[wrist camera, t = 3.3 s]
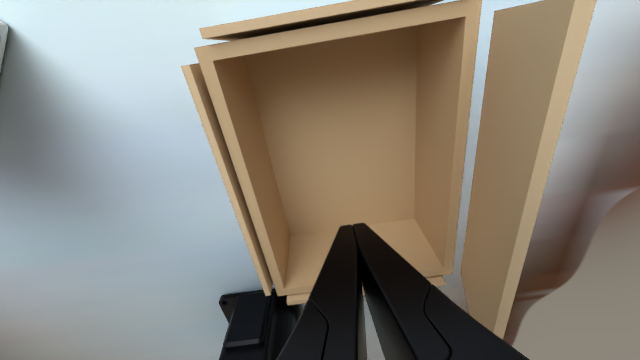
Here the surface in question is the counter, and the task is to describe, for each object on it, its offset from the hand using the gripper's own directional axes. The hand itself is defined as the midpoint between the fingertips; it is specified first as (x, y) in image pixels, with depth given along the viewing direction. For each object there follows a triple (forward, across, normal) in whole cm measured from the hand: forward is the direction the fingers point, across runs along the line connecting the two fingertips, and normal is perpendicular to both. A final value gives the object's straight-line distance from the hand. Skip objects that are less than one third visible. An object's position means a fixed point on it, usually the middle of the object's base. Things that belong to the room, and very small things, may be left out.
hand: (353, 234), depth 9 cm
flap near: (0, -5, 0) cm, 5 cm away
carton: (+8, 0, 0) cm, 8 cm away
